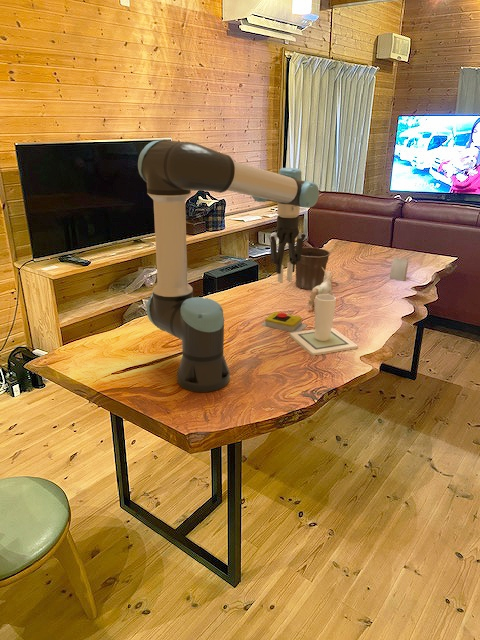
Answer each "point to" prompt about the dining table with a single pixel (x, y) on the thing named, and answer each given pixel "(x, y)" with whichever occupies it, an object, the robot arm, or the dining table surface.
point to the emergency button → (284, 322)
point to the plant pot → (311, 267)
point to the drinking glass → (324, 316)
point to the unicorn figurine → (321, 288)
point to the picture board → (322, 342)
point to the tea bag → (399, 269)
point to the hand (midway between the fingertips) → (284, 281)
